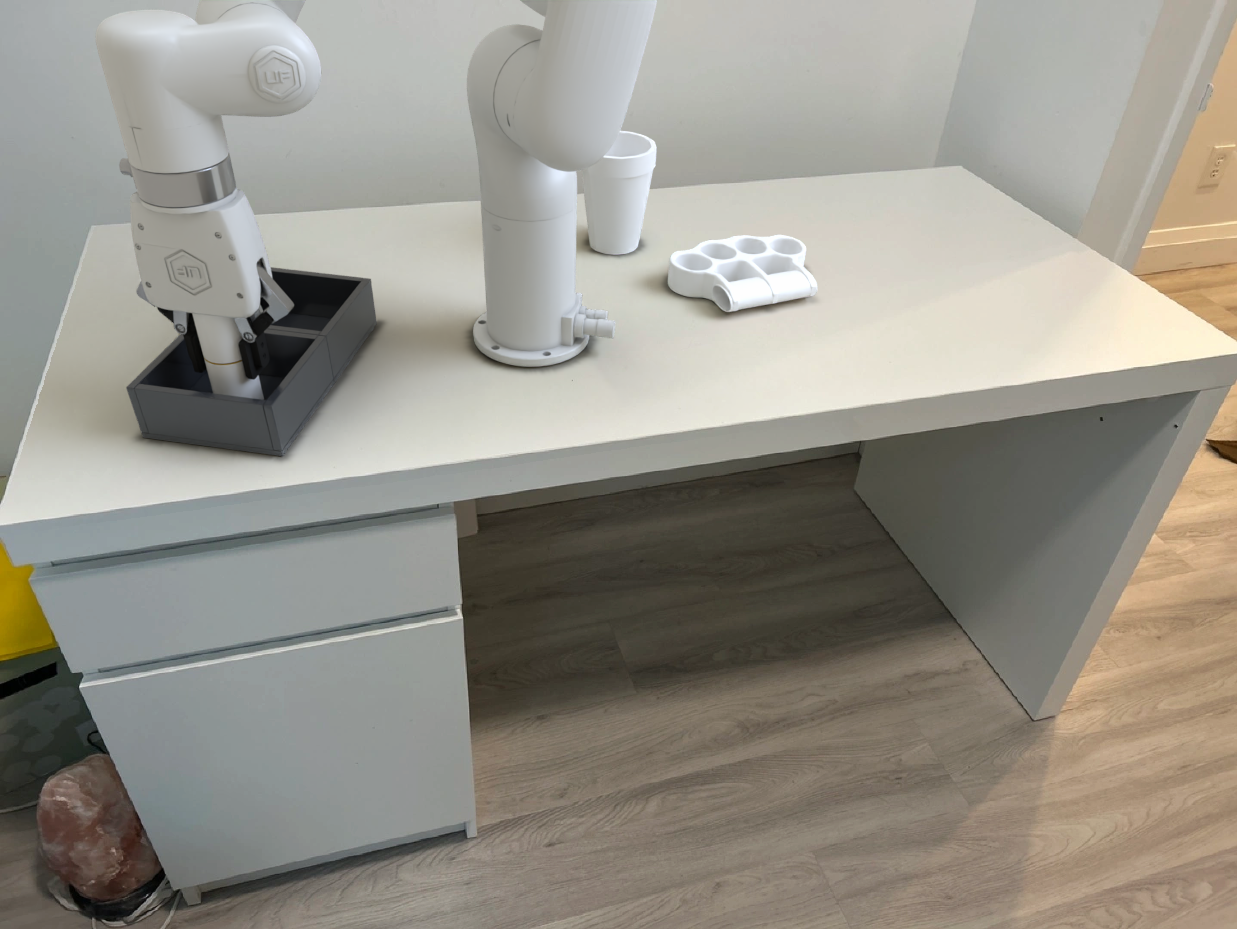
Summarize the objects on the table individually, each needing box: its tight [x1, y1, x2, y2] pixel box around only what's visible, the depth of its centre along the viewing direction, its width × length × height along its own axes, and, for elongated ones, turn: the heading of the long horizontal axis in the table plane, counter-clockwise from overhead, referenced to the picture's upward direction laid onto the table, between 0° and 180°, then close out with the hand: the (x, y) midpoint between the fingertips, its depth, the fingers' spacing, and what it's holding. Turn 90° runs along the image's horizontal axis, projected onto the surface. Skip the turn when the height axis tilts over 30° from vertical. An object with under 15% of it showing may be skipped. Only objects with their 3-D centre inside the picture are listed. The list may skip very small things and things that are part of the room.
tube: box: [192, 313, 264, 400], centre depth 87 cm, size 4×4×15 cm
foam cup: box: [580, 130, 658, 256], centre depth 120 cm, size 10×9×13 cm
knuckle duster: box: [667, 234, 819, 313], centre depth 116 cm, size 3×18×15 cm
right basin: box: [250, 266, 378, 385], centre depth 100 cm, size 14×12×6 cm
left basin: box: [125, 329, 335, 457], centre depth 91 cm, size 14×12×6 cm
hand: (231, 366), depth 89 cm, fingers closed on tube, 4 cm apart
